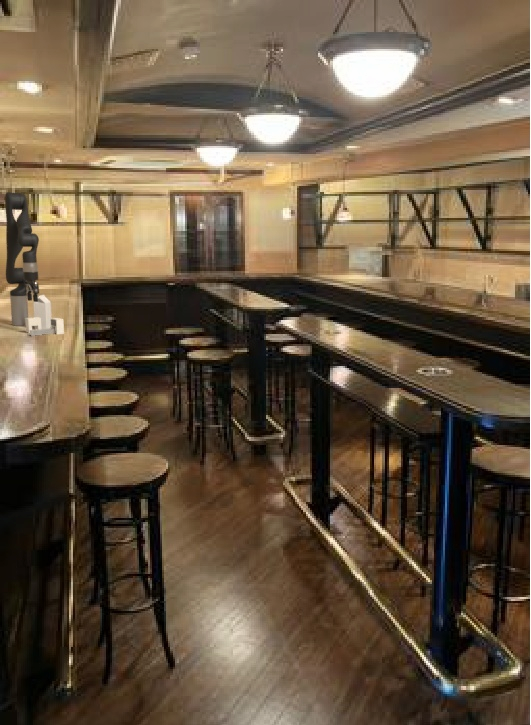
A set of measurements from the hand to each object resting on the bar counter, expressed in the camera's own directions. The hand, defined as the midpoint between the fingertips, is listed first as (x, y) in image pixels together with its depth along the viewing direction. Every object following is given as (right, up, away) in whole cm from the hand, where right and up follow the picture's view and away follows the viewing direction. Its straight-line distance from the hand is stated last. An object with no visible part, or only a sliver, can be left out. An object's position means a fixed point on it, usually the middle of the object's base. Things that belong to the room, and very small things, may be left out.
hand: (32, 301), depth 338 cm
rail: (+8, -18, -3) cm, 20 cm away
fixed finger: (+13, -17, +2) cm, 22 cm away
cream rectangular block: (-1, -17, +3) cm, 17 cm away
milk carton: (0, -14, +17) cm, 22 cm away
